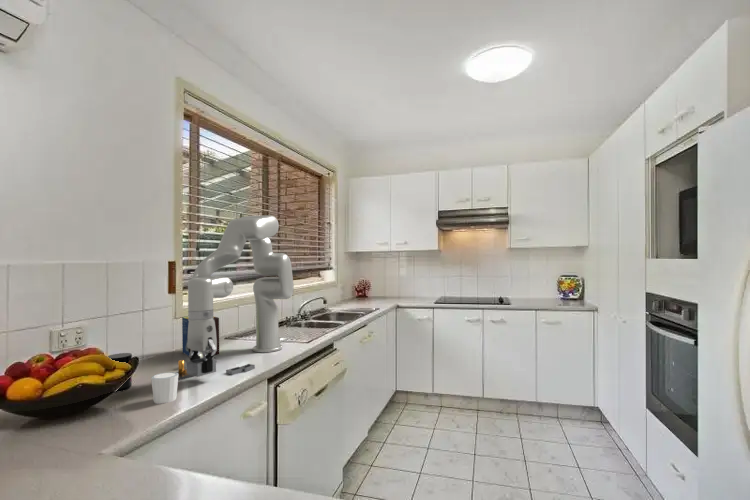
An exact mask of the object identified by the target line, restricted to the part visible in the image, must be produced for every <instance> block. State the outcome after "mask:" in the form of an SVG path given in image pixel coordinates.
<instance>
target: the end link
mask: <svg viewBox="0 0 750 500" xmlns="http://www.w3.org/2000/svg"><path fill="white" fill-rule="evenodd" d="M203 361H204V358H199V359H195V360H190V359H189V360H186V369H187V374H189V375H193V376H194V377H197V378H198V377H203V376H206V375H210V374H214V373H216V372H217V359H215V358H214V359H213V371H212V372H208V373H203Z"/></svg>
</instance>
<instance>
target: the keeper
mask: <svg viewBox="0 0 750 500" xmlns="http://www.w3.org/2000/svg"><path fill="white" fill-rule="evenodd" d="M177 362H178V363H177V365H178V367H177V368H178V369H177V371H176V373H178V374H179V375H178V382H179V381H182V380H187V379H190V378H192V377H193V378H194V377H195V376H193V375H189V374H187V368H185V359H180V360H178V361H177Z"/></svg>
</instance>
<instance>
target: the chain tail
mask: <svg viewBox="0 0 750 500" xmlns="http://www.w3.org/2000/svg"><path fill="white" fill-rule="evenodd" d="M254 369H256V366H255V364H252V363H247V364H245V365H242V366H236V367H232V368H229V369H225V374H226V375H231V376H234V375H236V374H237V375H238V374H240V373H247V372H249V371H251V370H254Z"/></svg>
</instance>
